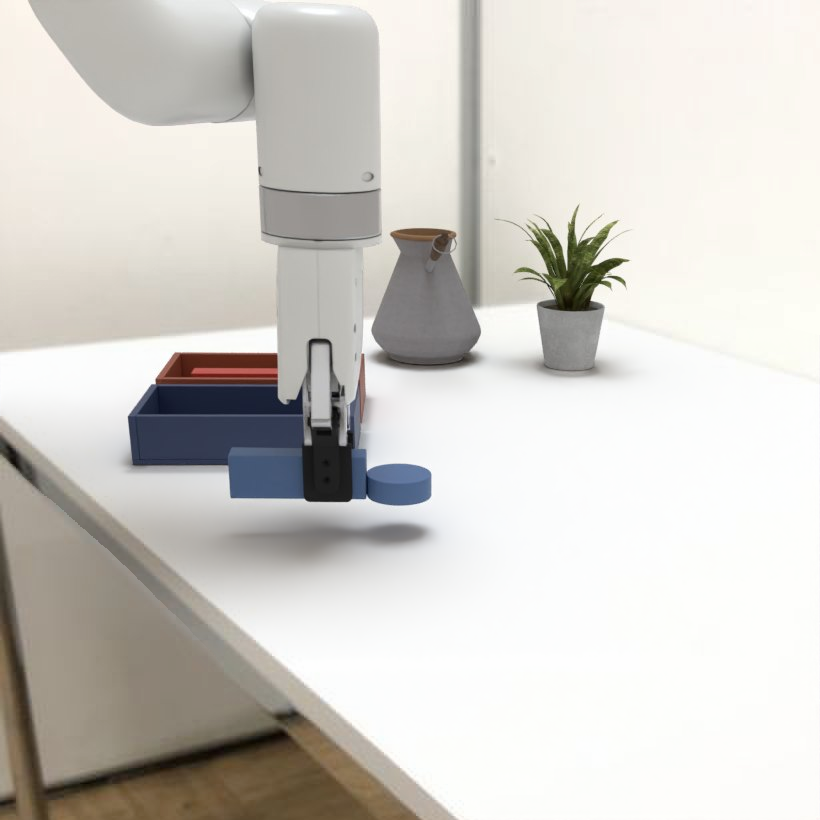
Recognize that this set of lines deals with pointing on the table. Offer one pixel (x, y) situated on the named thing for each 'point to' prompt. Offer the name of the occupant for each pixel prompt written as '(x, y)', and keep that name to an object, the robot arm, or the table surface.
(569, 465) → the table surface
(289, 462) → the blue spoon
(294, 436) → the blue bin
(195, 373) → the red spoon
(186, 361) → the red bin
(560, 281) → the house plant
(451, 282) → the coffee pot
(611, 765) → the table surface
